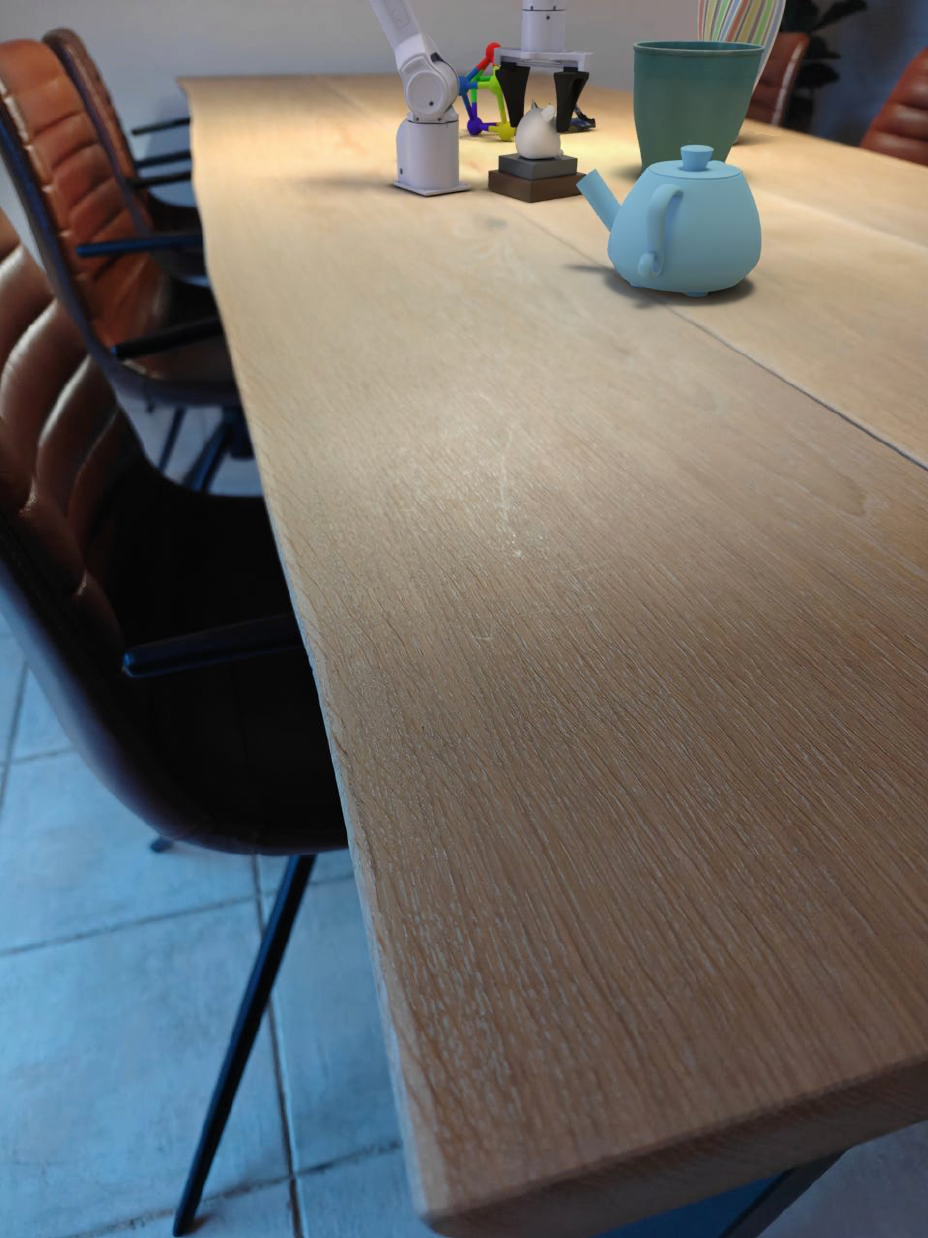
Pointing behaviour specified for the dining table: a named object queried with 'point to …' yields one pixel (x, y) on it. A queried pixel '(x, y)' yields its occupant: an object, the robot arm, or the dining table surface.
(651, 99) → the flower pot
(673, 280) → the teapot
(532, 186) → the stack
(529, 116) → the figurine
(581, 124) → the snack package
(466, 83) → the educational toy
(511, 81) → the robot arm
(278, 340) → the dining table surface
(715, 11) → the vase
